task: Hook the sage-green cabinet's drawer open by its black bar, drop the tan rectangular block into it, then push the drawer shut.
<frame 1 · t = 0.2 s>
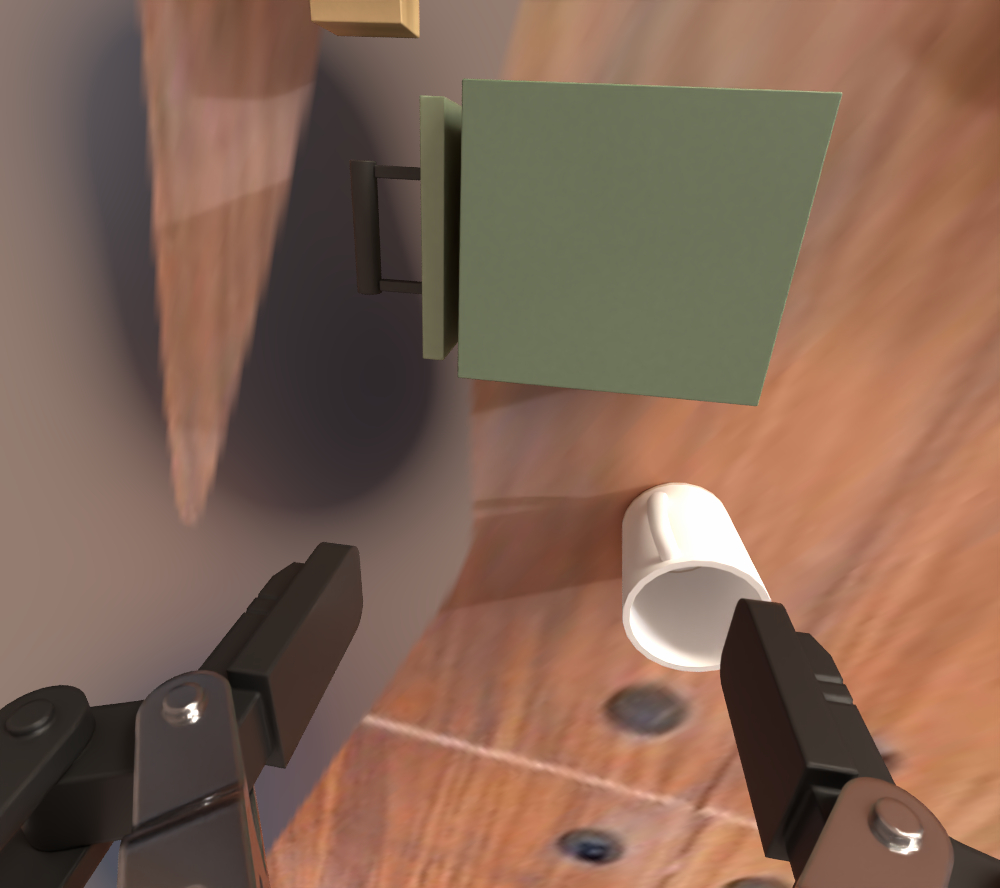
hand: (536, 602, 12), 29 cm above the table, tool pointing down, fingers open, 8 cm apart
drawer: (525, 238, 31), point 5 cm above the table, slide at 1.0 cm
cabinet: (614, 236, 35), on the table
mug: (669, 513, 43), on the table
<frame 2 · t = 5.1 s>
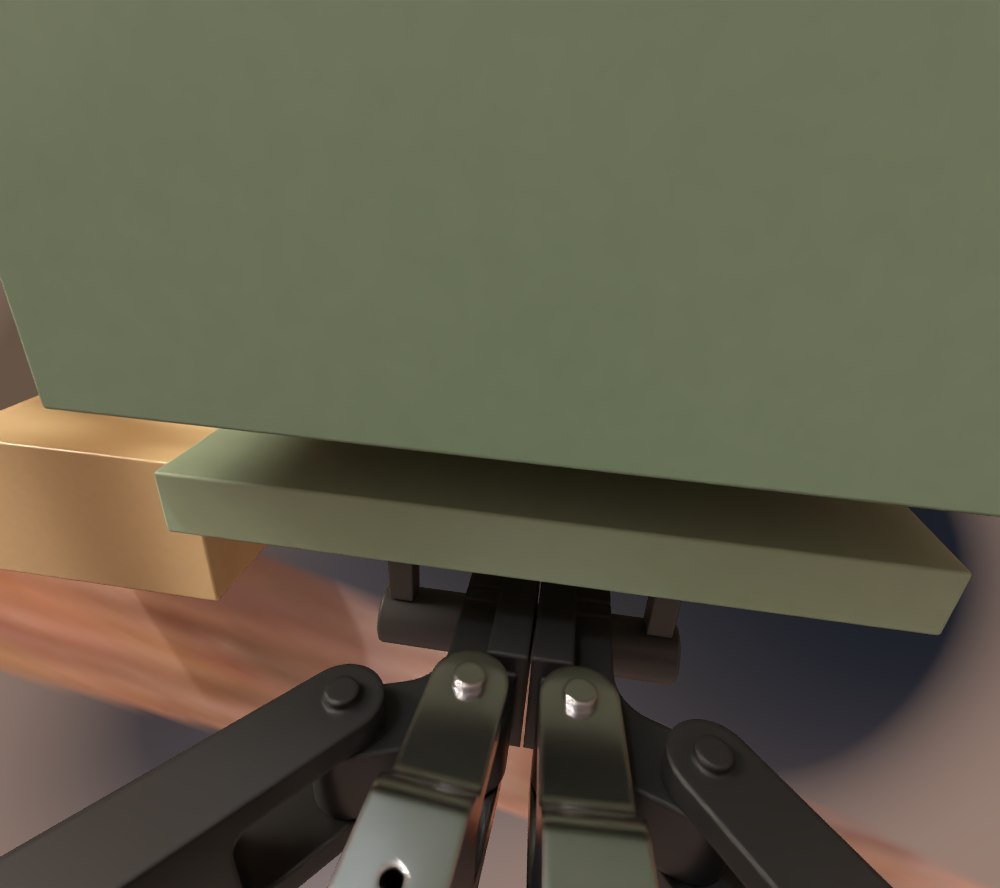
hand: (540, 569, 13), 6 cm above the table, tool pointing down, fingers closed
tan rectangular block: (160, 468, 20), on the table
drawer: (566, 234, 10), point 5 cm above the table, slide at 1.4 cm, touching gripper
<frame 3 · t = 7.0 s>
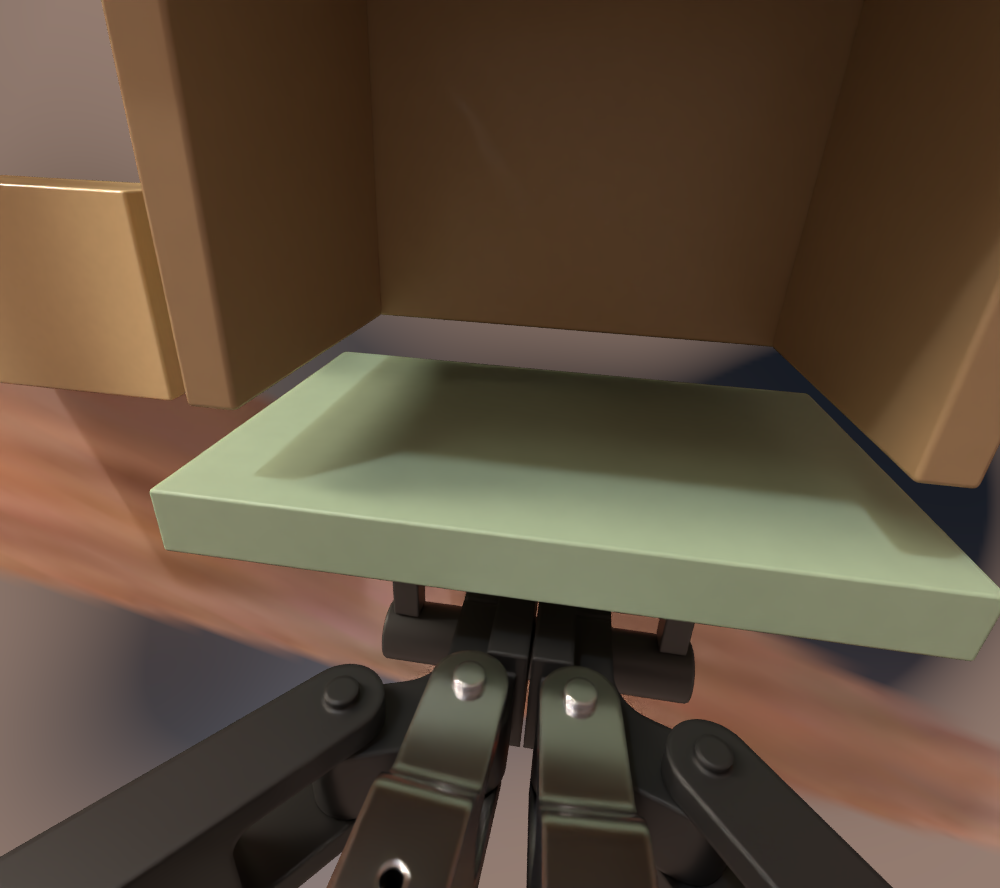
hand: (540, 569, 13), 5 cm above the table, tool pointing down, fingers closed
tan rectangular block: (110, 270, 17), on the table
drawer: (576, 240, 10), point 5 cm above the table, slide at 8.6 cm
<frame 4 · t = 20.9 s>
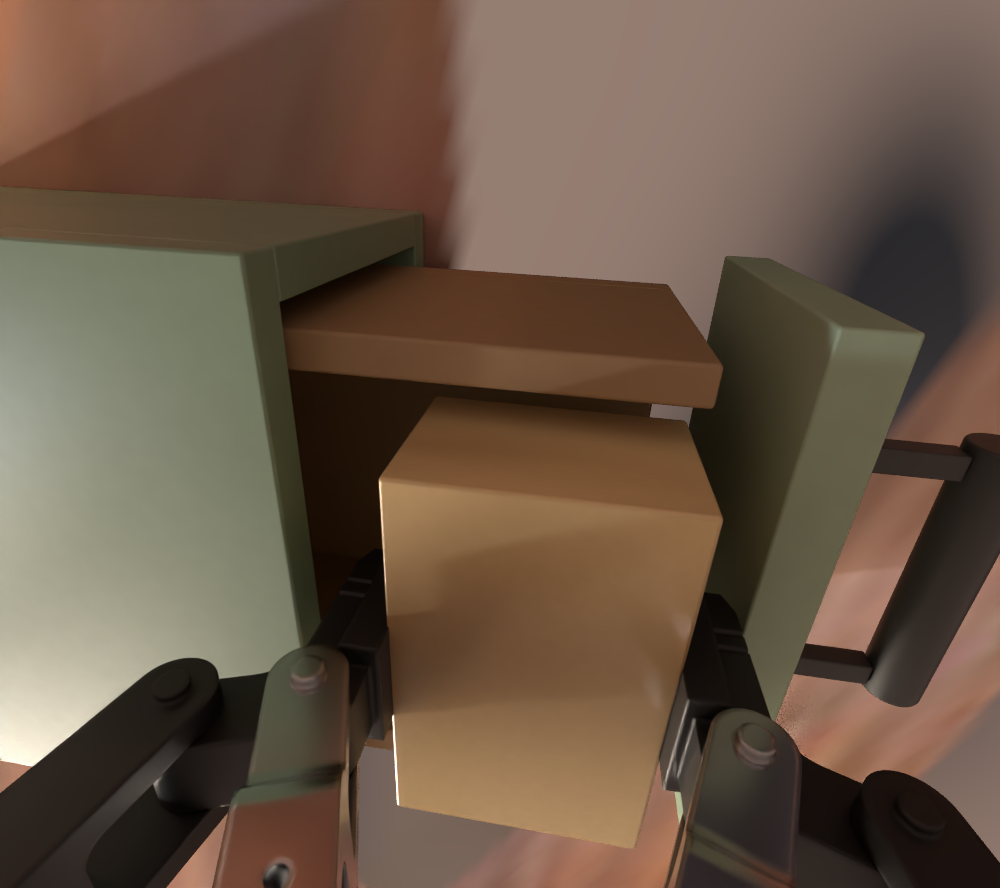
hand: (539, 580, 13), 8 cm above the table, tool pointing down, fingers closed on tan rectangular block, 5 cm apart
tan rectangular block: (542, 567, 13), point 7 cm above the table, touching gripper
drawer: (558, 512, 15), point 5 cm above the table, slide at 8.7 cm
cabinet: (219, 400, 21), on the table
when the fingers open (10 cm above the table, at t = 37.6 s): tan rectangular block drops 7 cm, resting on drawer.
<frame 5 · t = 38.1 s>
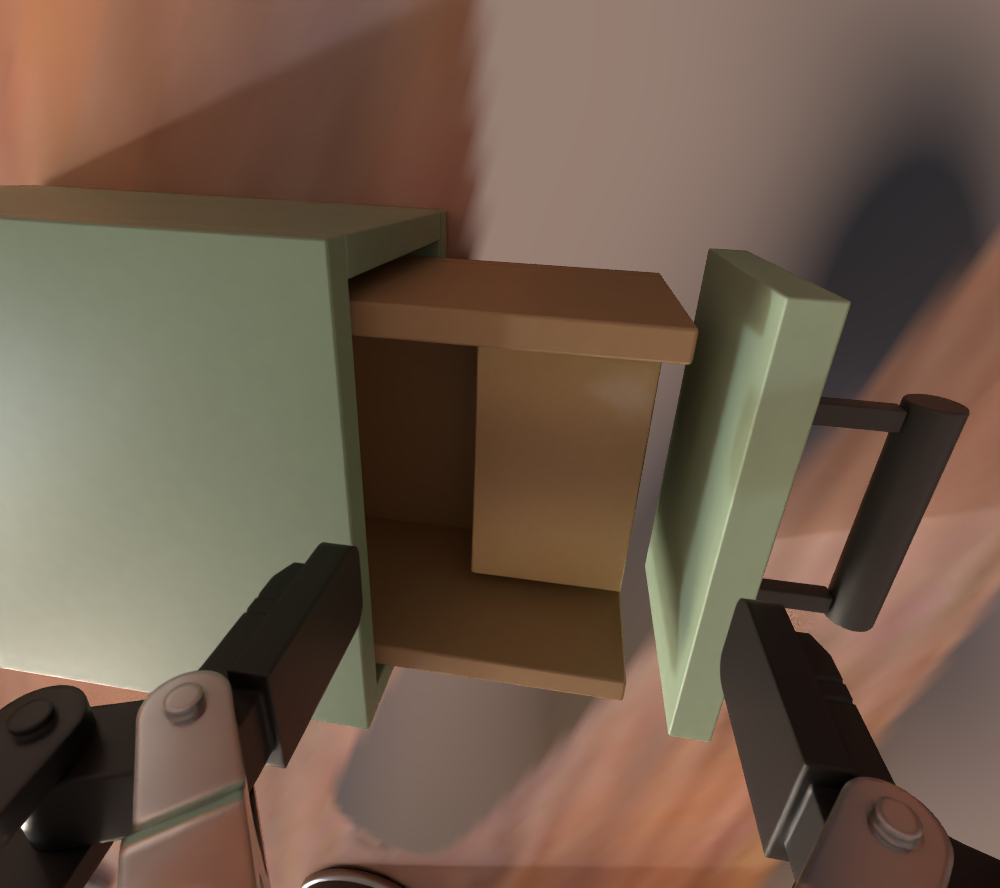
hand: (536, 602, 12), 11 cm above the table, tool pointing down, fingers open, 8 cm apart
tan rectangular block: (560, 430, 20), point 2 cm above the table, touching drawer
drawer: (565, 467, 17), point 5 cm above the table, slide at 8.7 cm, touching tan rectangular block
cabinet: (260, 378, 23), on the table
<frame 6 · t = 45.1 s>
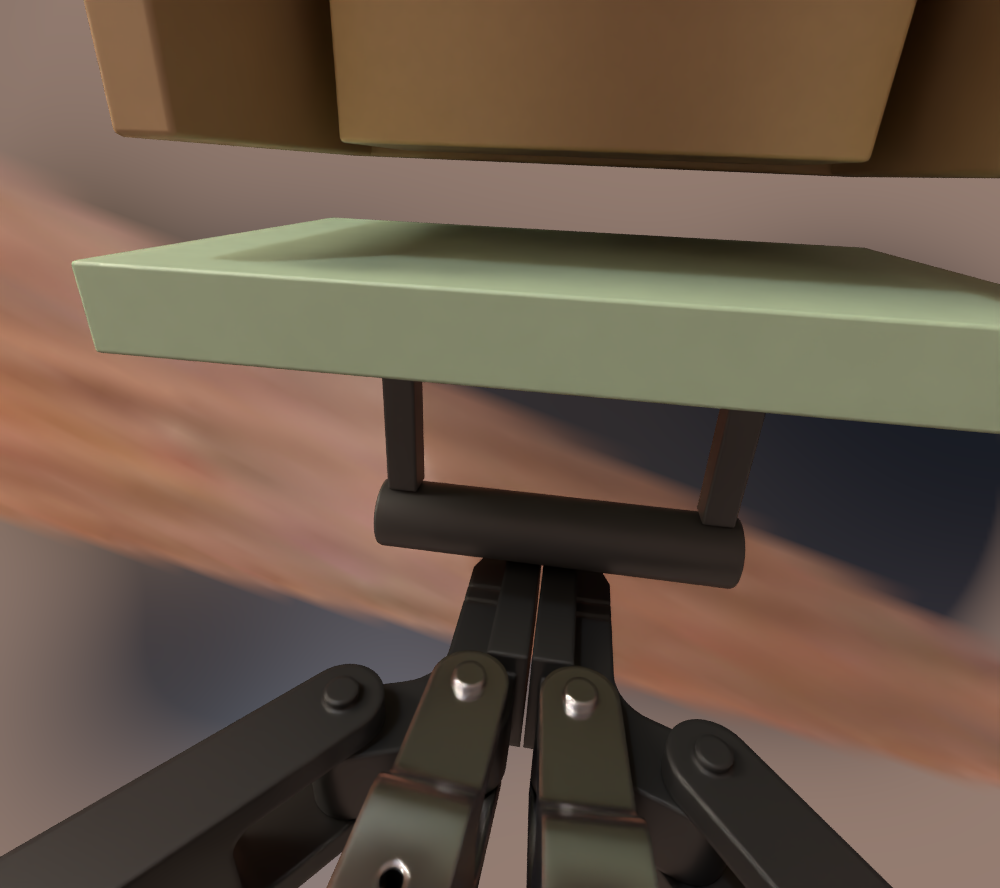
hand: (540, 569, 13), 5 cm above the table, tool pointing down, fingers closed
tan rectangular block: (605, 8, 10), point 2 cm above the table, touching drawer
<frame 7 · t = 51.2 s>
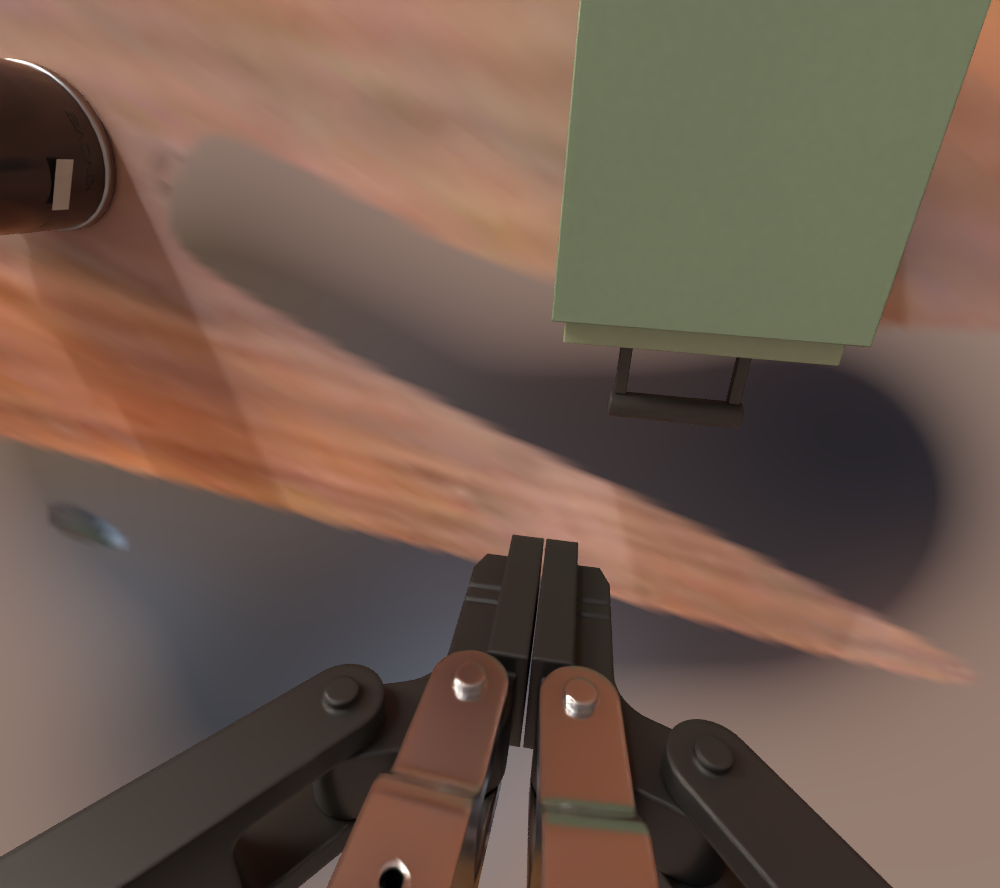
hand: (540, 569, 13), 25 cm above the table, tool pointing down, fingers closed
drawer: (704, 234, 28), point 5 cm above the table, slide at 0.0 cm, touching tan rectangular block
cabinet: (703, 143, 30), on the table
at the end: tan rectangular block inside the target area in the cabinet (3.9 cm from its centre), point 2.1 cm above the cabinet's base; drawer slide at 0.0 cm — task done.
